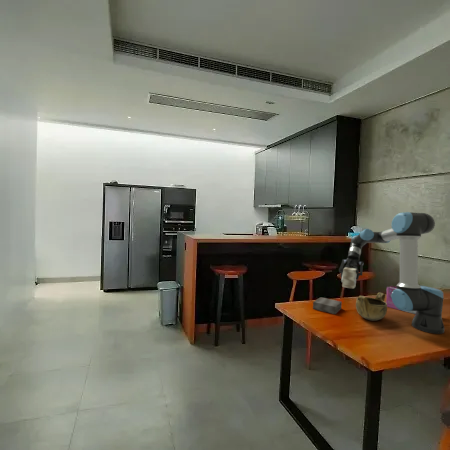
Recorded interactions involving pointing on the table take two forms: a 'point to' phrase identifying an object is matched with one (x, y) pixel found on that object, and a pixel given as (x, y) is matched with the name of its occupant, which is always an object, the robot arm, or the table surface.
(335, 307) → the charcoal plinth
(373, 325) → the table surface
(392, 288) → the gum box
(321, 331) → the table surface
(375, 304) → the khaki rounded piece
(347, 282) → the birch block
